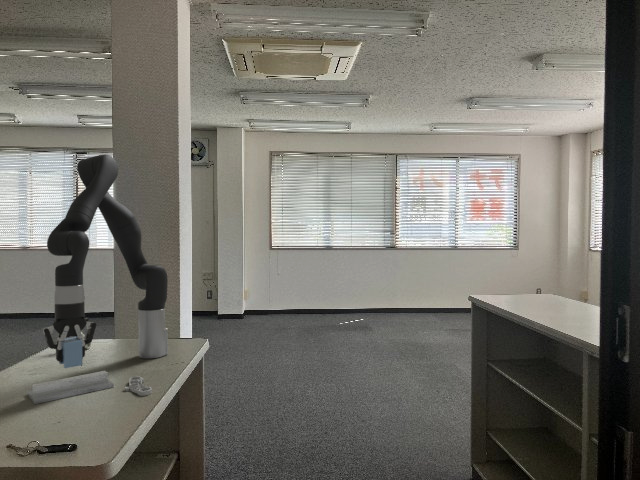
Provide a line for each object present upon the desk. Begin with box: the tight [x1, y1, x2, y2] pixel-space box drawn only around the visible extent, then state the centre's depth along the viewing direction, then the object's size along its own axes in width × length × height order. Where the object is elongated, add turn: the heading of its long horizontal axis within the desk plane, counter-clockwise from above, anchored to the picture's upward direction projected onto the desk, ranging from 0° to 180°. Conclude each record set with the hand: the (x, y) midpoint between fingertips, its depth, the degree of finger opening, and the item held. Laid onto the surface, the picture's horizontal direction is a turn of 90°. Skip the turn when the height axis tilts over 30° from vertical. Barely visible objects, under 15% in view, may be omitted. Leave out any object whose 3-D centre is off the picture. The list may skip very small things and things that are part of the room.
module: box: [58, 336, 83, 369], centre depth 133 cm, size 4×7×7 cm
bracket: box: [124, 375, 153, 397], centre depth 135 cm, size 8×2×15 cm
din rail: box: [27, 370, 115, 405], centre depth 133 cm, size 20×10×4 cm, turn 131°
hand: (70, 360), depth 133 cm, fingers closed on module, 4 cm apart
